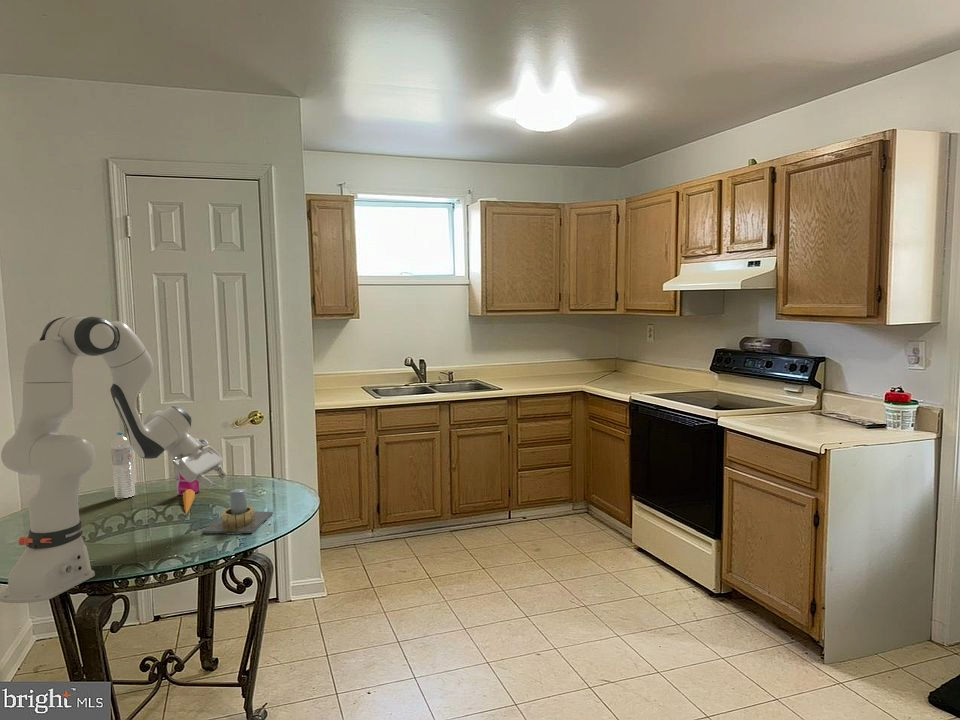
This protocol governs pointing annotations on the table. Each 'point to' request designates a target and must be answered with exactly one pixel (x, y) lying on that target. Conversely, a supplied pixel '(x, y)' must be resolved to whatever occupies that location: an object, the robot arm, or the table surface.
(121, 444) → the water bottle
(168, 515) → the table surface
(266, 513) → the mounting plate
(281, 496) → the table surface
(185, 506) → the carrot
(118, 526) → the table surface
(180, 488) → the supplement box
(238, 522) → the brass socket
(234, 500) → the grey capsule peg
